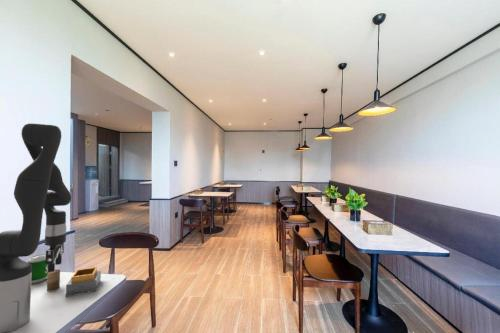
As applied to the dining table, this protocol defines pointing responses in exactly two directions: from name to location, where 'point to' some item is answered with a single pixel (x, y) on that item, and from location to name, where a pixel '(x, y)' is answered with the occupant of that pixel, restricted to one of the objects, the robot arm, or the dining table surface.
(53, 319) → the dining table surface
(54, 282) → the walnut plug
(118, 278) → the dining table surface
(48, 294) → the dining table surface
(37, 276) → the soda can
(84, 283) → the box
